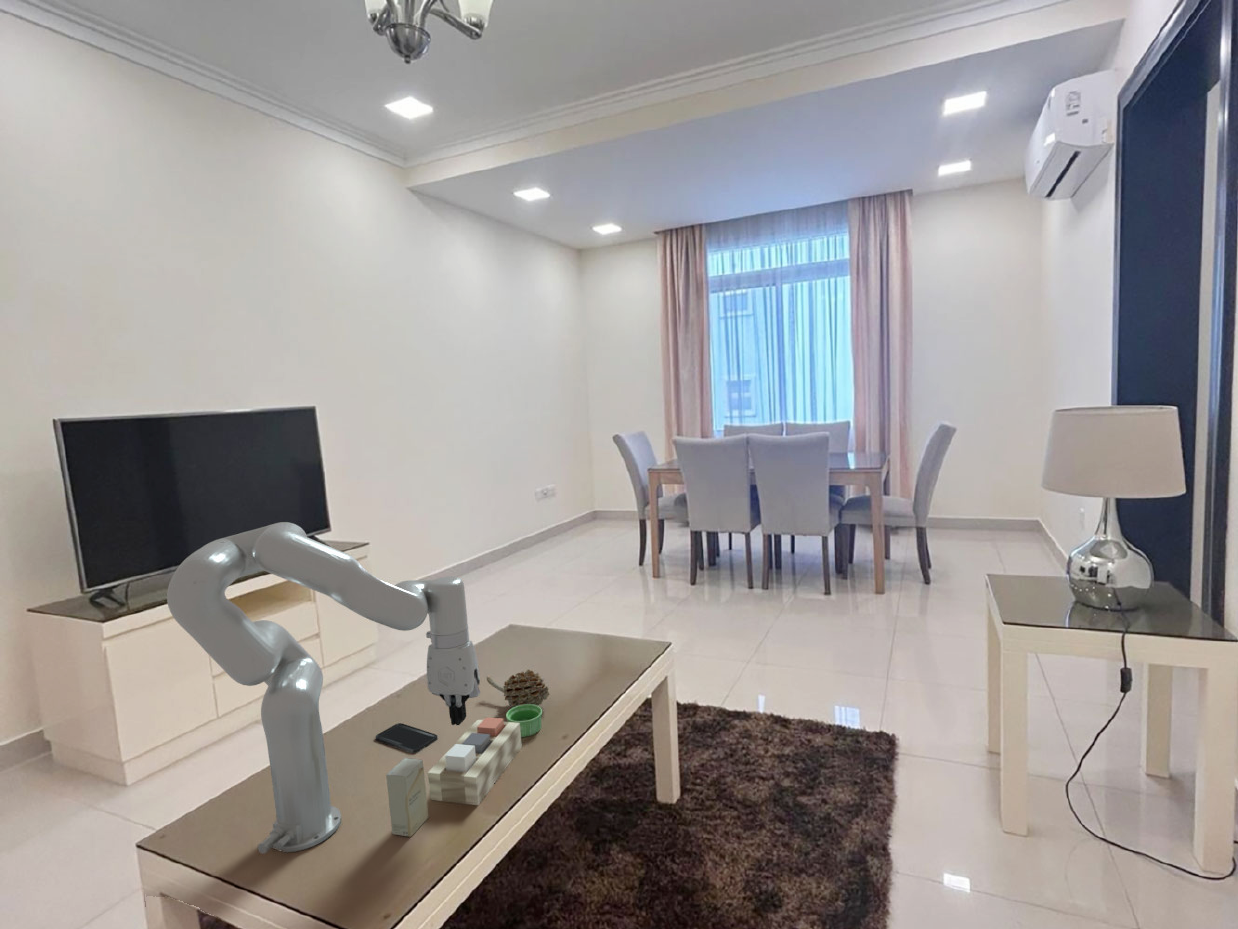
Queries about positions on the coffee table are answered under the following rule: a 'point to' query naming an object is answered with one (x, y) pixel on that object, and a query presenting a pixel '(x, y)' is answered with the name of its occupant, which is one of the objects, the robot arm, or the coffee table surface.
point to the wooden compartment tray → (475, 768)
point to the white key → (460, 758)
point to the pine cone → (523, 688)
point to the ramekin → (526, 718)
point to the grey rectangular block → (478, 742)
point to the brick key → (491, 726)
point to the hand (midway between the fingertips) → (458, 721)
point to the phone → (406, 738)
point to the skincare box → (407, 796)
